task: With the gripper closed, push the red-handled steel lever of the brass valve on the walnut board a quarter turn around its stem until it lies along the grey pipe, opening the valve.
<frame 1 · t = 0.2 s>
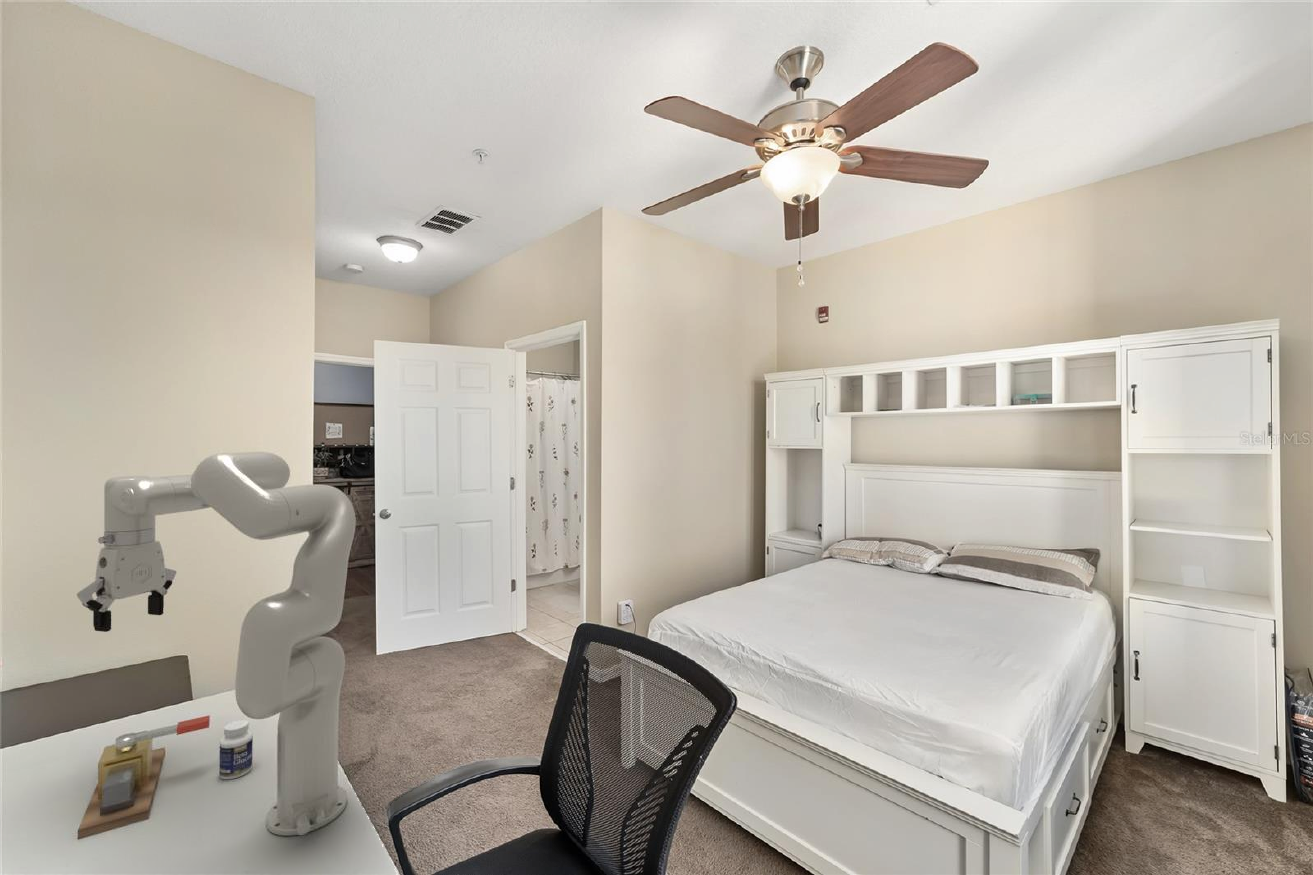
hand: (130, 622, 114), 31 cm above the table, tool pointing down, fingers open, 9 cm apart
valve: (126, 766, 108), on the mount board, point 5 cm above the table
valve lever: (164, 733, 111), point 10 cm above the table, hinge at -90.0°
mount board: (126, 791, 108), on the table
pill bottle: (236, 773, 115), on the table
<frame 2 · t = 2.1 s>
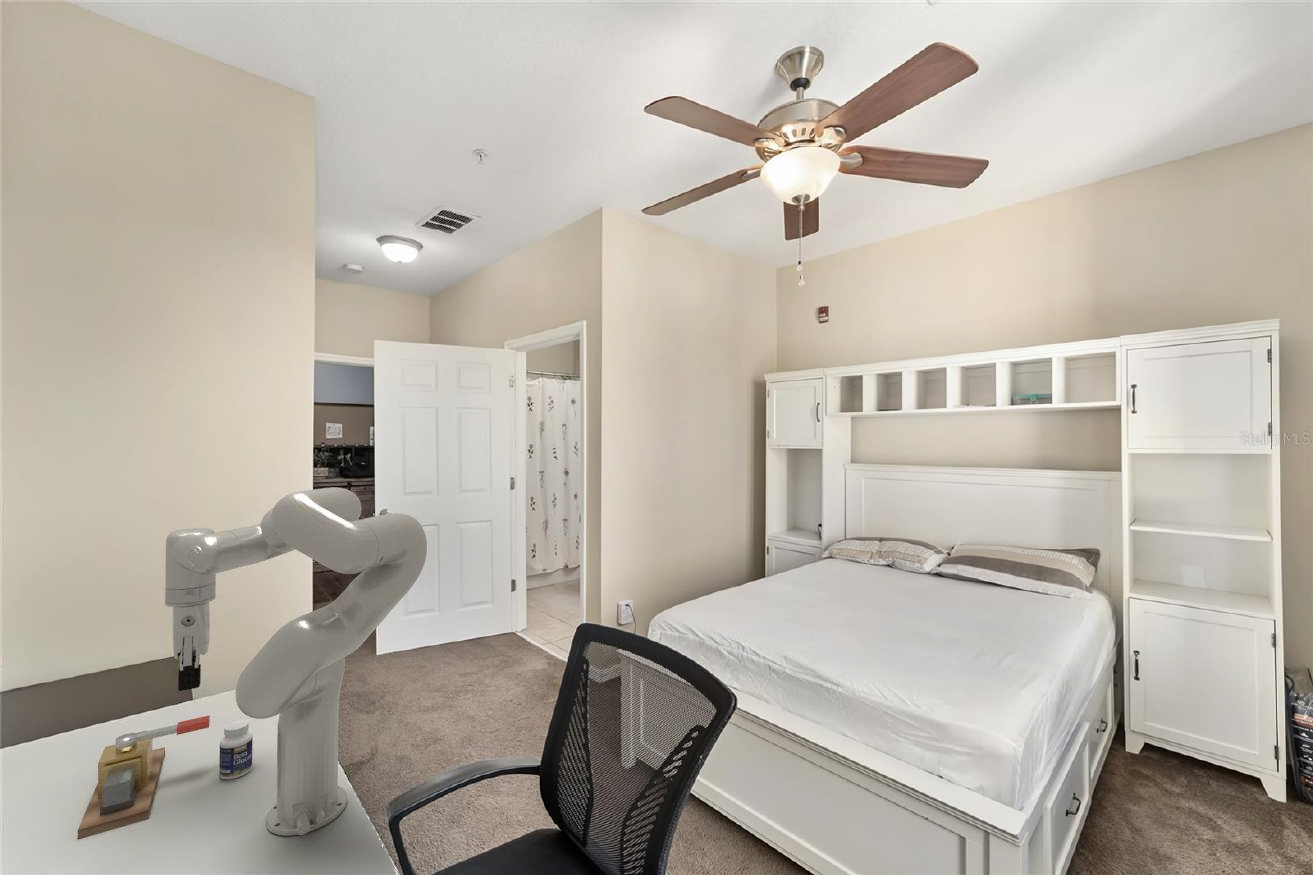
hand: (189, 687, 109), 20 cm above the table, tool pointing down, fingers closed
nothing on the table moved.
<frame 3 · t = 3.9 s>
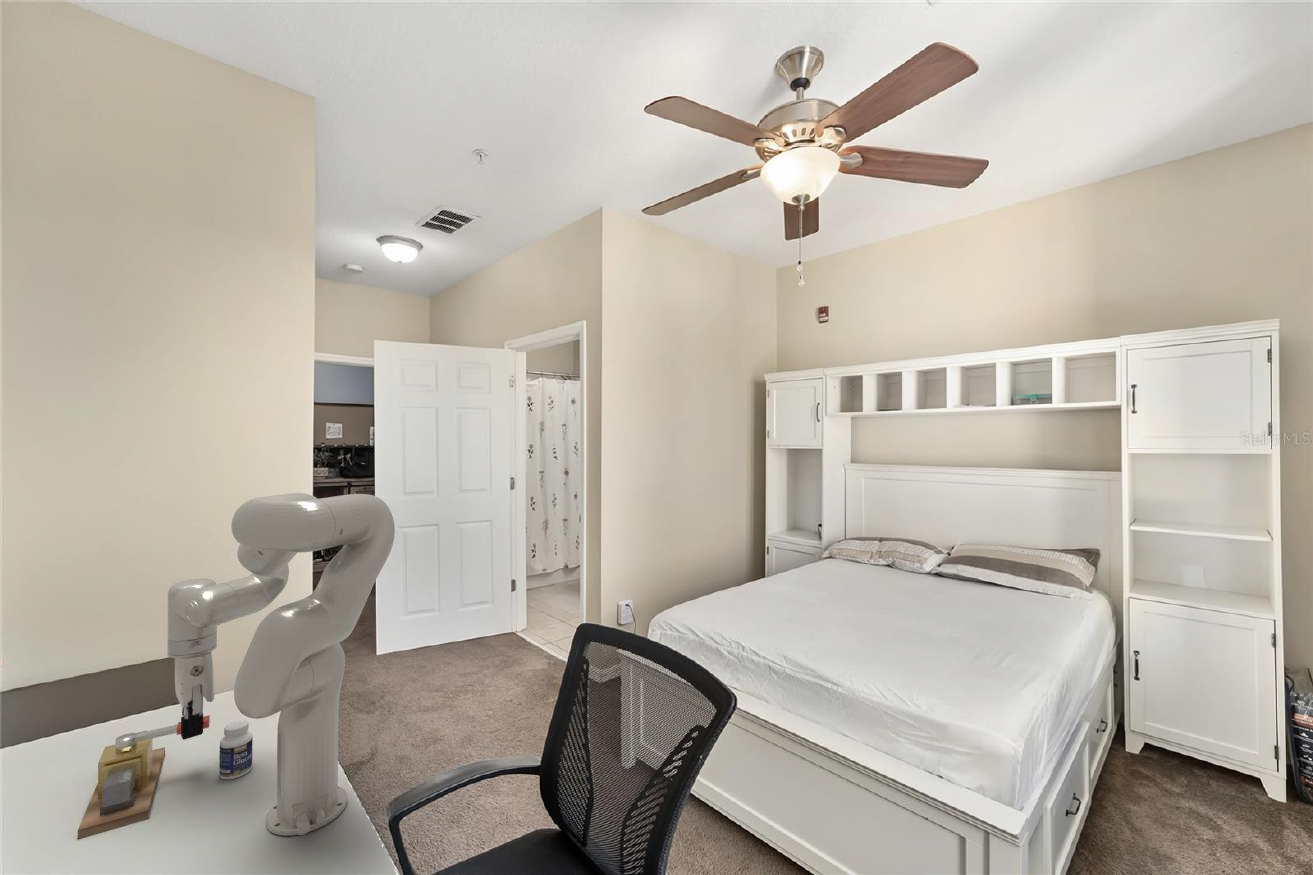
hand: (192, 735, 112), 9 cm above the table, tool pointing down, fingers closed
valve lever: (164, 733, 111), point 10 cm above the table, hinge at -89.9°, touching gripper
everything else where it was.
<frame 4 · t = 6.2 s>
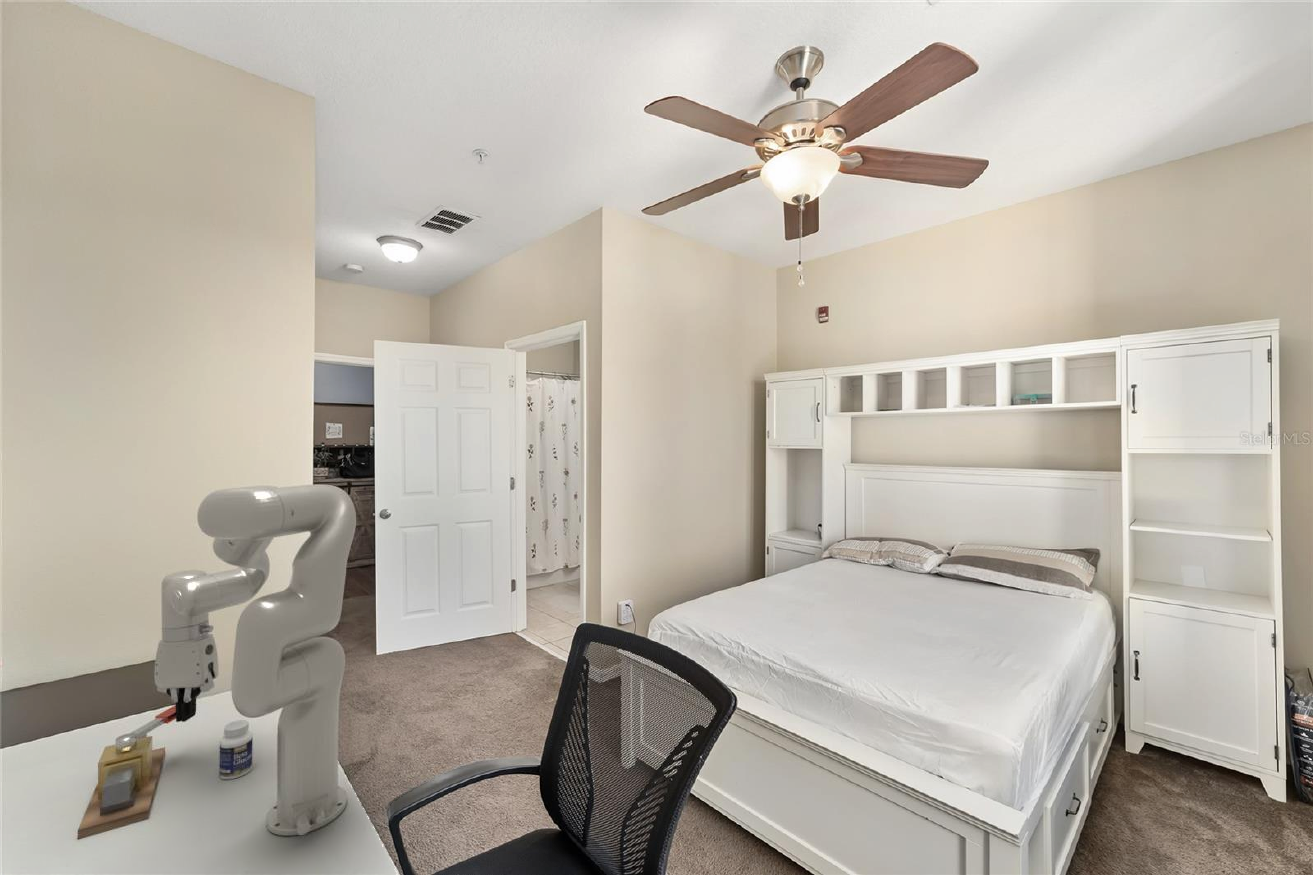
hand: (186, 718, 118), 9 cm above the table, tool pointing down, fingers closed
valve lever: (152, 726, 114), point 10 cm above the table, hinge at -36.9°, touching gripper
everything else where it was.
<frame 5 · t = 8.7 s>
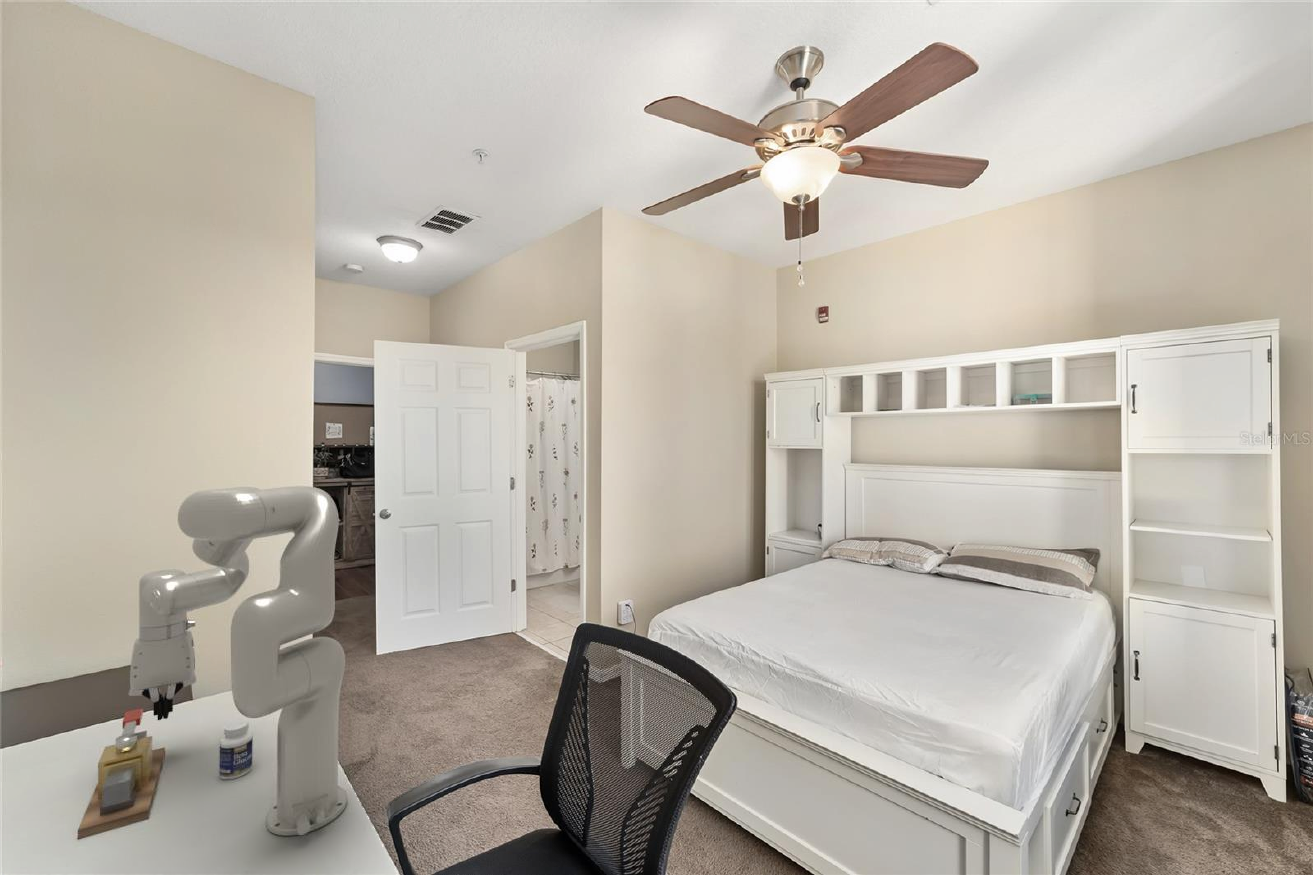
hand: (163, 716, 119), 9 cm above the table, tool pointing down, fingers closed
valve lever: (130, 729, 113), point 10 cm above the table, hinge at 2.0°
everything else where it was.
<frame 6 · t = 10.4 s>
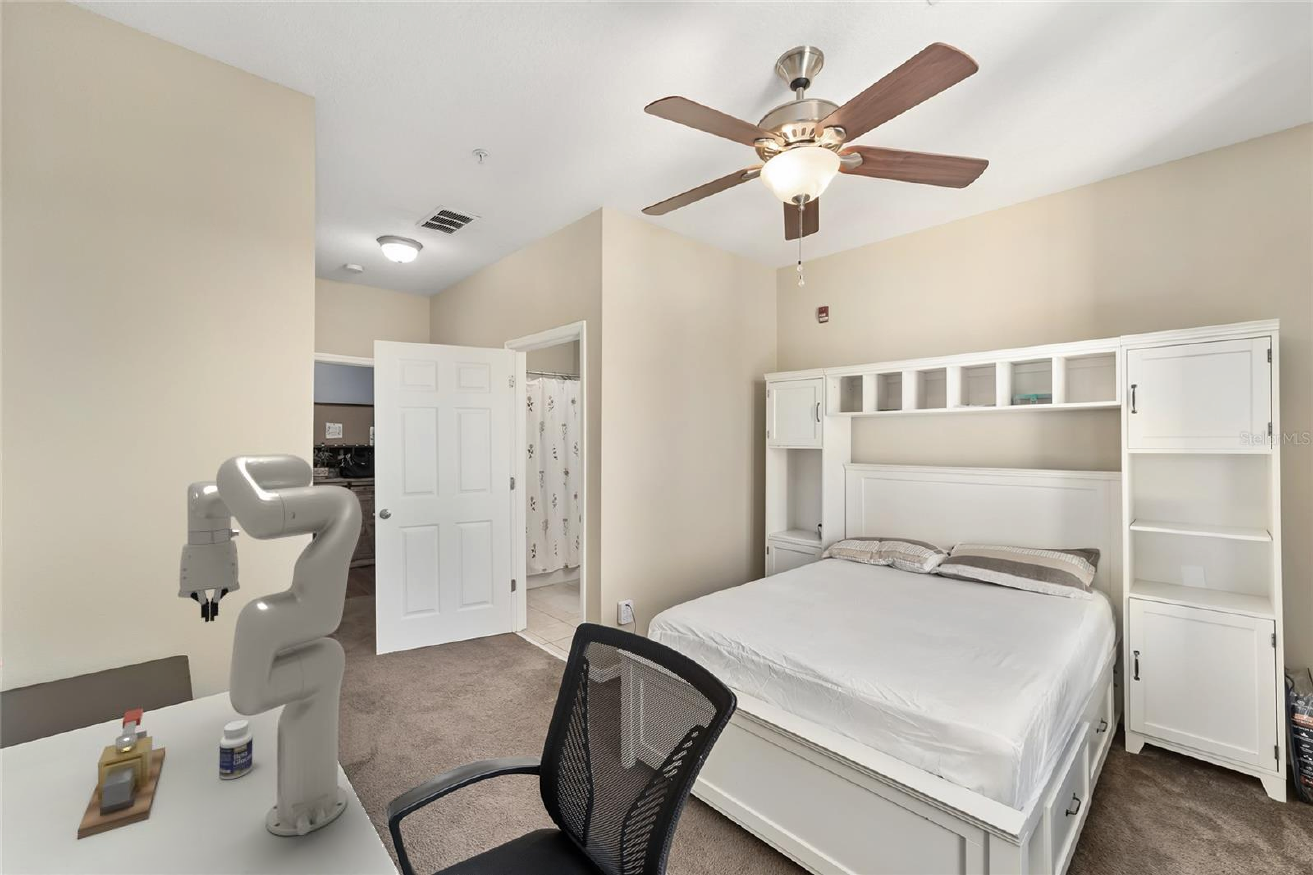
hand: (209, 620, 125), 28 cm above the table, tool pointing down, fingers closed
nothing on the table moved.
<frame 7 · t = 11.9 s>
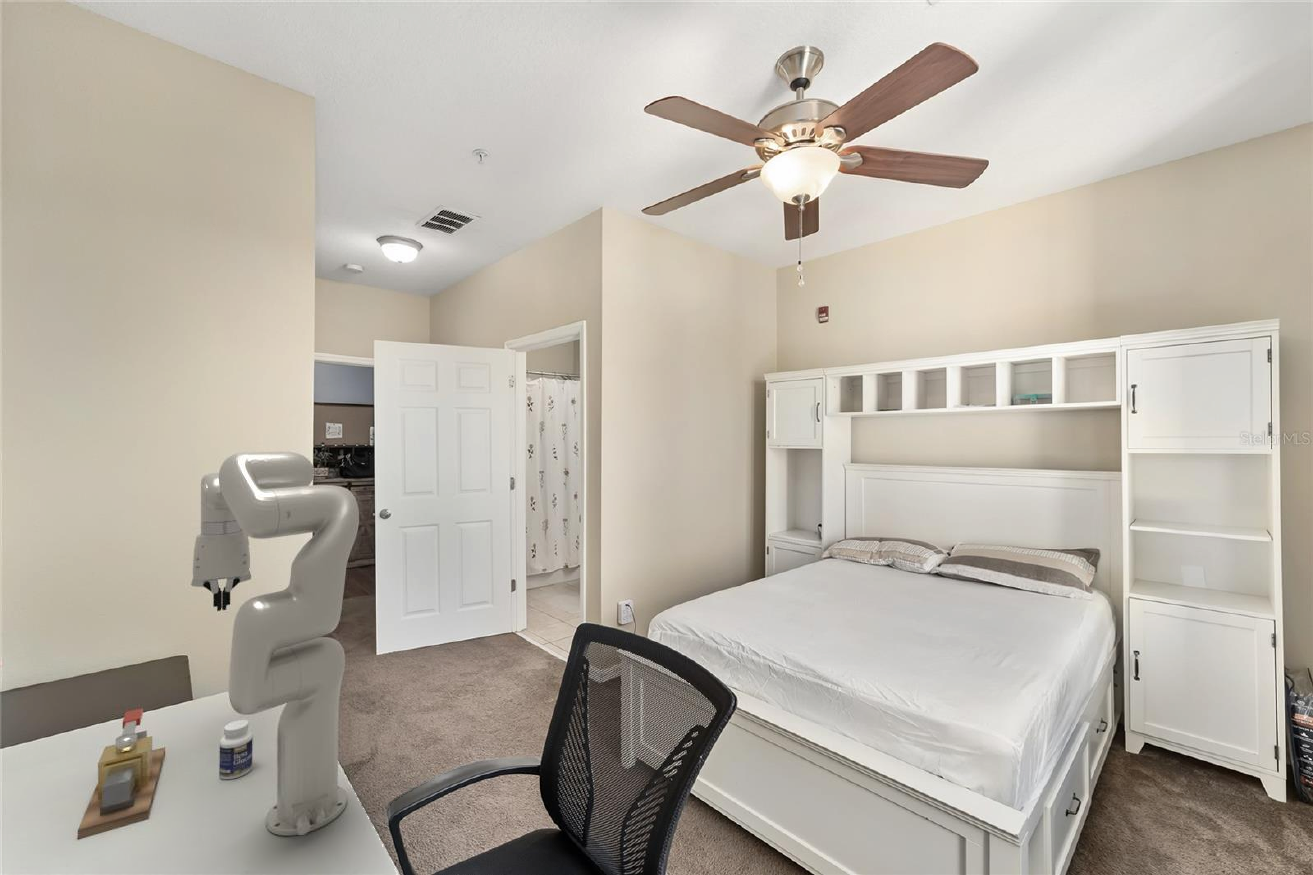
hand: (221, 608, 127), 29 cm above the table, tool pointing down, fingers closed
nothing on the table moved.
at the end: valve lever at +2° (first picture: -90°); pill bottle moved 0.2 cm from its start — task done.
